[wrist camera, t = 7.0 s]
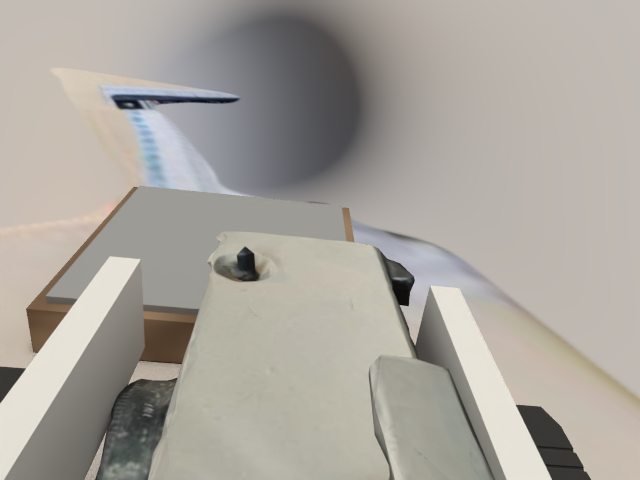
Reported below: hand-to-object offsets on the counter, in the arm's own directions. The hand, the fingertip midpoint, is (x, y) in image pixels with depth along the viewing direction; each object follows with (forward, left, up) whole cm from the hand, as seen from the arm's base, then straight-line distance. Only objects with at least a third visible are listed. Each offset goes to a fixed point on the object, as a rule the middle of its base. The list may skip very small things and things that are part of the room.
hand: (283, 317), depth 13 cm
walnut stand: (-3, +12, -6) cm, 13 cm away
